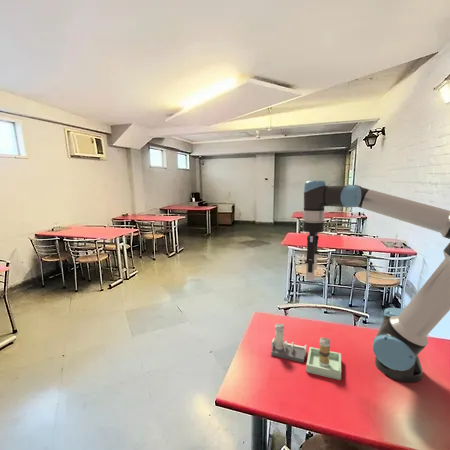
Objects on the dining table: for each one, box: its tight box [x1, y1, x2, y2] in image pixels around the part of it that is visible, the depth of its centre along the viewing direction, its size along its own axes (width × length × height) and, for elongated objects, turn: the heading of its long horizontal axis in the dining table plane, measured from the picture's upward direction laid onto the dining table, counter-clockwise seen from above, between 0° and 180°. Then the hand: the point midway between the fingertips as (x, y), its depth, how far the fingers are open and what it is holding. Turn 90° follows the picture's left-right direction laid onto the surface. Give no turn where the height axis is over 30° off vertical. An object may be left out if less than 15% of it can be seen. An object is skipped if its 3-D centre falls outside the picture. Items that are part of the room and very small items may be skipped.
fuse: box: [274, 323, 285, 351], centre depth 112 cm, size 4×4×10 cm
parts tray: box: [305, 346, 342, 381], centre depth 103 cm, size 12×12×3 cm
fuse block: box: [270, 337, 308, 364], centre depth 111 cm, size 14×8×4 cm, turn 67°
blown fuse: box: [319, 337, 331, 367], centre depth 102 cm, size 4×4×10 cm
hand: (311, 274), depth 105 cm, fingers open, 13 cm apart
